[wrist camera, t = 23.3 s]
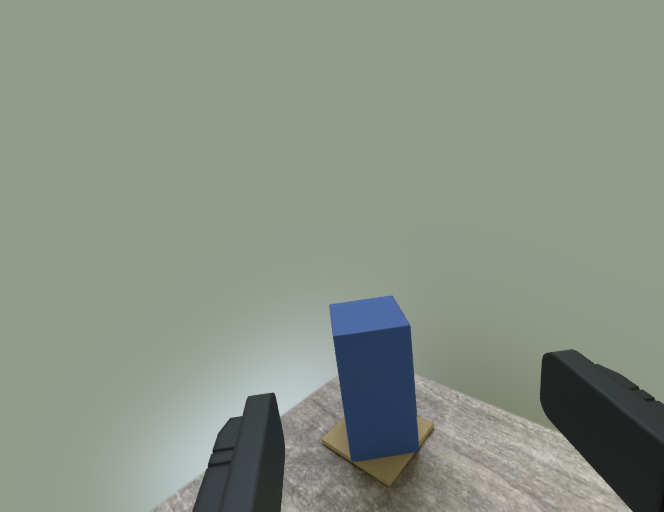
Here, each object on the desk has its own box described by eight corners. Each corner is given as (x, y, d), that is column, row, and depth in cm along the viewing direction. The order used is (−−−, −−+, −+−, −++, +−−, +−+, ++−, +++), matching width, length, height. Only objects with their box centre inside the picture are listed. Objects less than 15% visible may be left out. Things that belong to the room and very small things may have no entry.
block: (419, 452, 22) (410, 324, 19) (351, 462, 22) (333, 336, 19) (402, 404, 26) (392, 294, 24) (344, 413, 26) (328, 304, 23)
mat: (389, 487, 20) (389, 482, 20) (321, 443, 24) (321, 438, 24) (434, 427, 24) (433, 422, 24) (369, 397, 28) (369, 393, 28)
